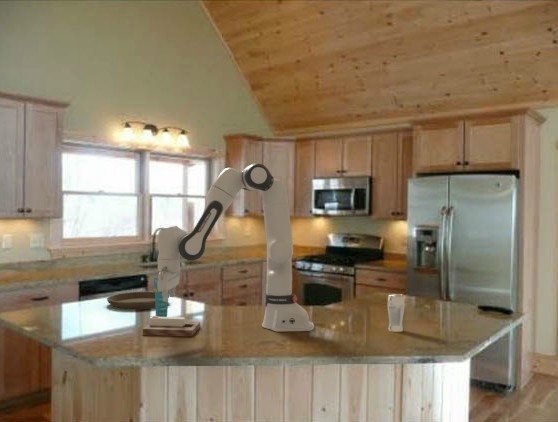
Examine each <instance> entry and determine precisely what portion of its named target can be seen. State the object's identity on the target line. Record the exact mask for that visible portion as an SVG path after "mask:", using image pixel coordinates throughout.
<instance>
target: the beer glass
mask: <svg viewBox="0 0 558 422" xmlns="http://www.w3.org/2000/svg"><path fill="white" fill-rule="evenodd" d="M404 313H405V295H403V294H401V293H391V294H388V297H387V314H388V319H389V320H388V321H389V324H388V328H387V329H388V331H389V332H392V333H402V332H403V330H404V329H403V328H404V327H403V318H404Z"/></svg>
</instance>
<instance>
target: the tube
mask: <svg viewBox="0 0 558 422" xmlns="http://www.w3.org/2000/svg"><path fill="white" fill-rule="evenodd" d="M153 282H154V292H155V305H156V307H155V316H158V317H168V307H169V300H168V301H167V302H164V301H163V296H162V292H158V289H157V285H158V277H154V278H153ZM167 294H168V297H169V298H170V290H168V293H167Z"/></svg>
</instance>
